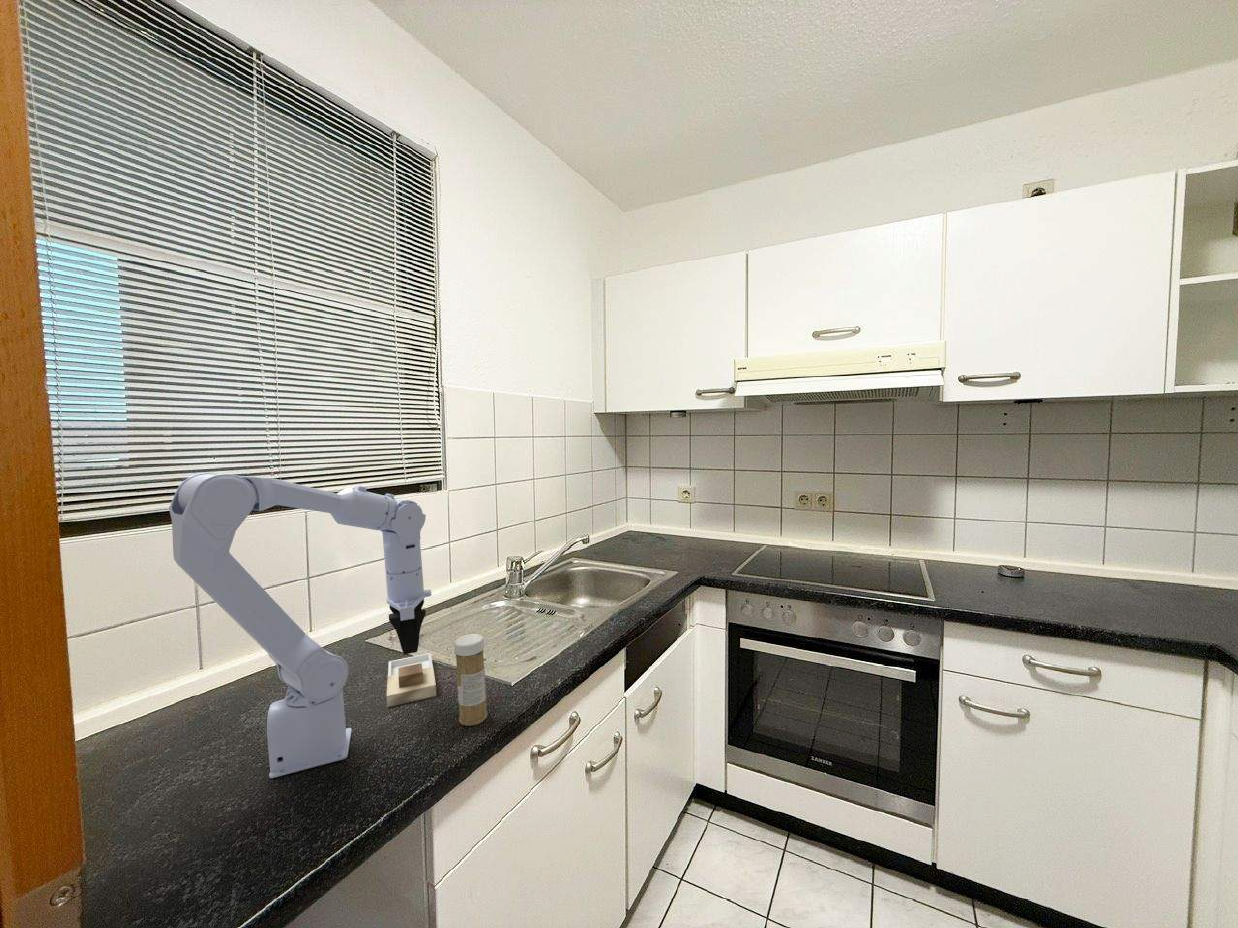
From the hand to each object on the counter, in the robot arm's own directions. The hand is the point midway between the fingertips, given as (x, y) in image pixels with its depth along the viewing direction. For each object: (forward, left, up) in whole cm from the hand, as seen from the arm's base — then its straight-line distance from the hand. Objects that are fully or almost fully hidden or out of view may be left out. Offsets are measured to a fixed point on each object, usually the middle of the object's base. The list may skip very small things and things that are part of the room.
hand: (410, 647), depth 85 cm
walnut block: (0, +6, -8) cm, 10 cm away
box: (0, +14, -10) cm, 18 cm away
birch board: (0, +6, -10) cm, 12 cm away
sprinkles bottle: (+9, -9, -11) cm, 17 cm away
